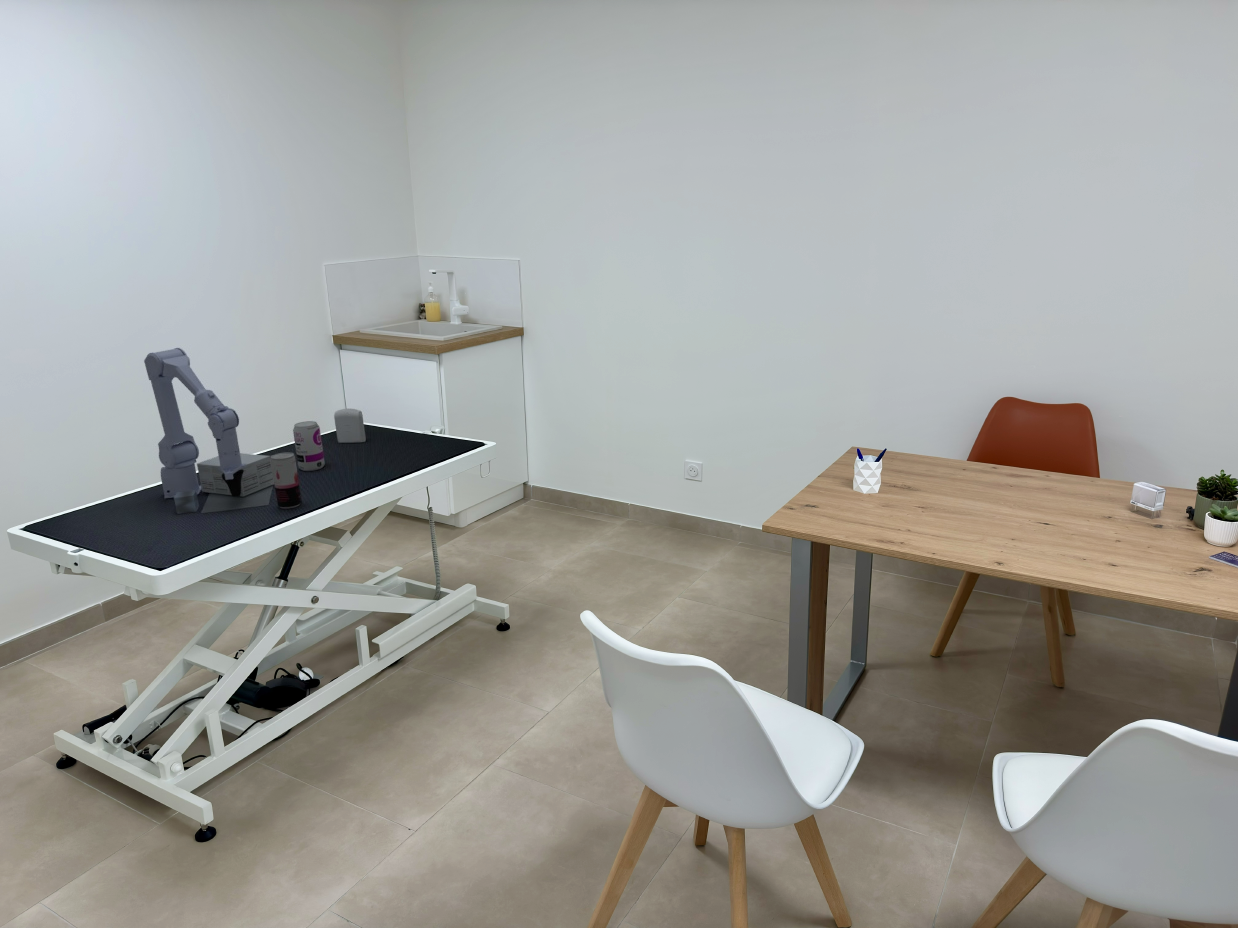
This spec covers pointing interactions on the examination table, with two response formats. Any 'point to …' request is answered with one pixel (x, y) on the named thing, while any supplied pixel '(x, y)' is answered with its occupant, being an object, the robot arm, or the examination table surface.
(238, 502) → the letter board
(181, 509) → the slate cube
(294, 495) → the beverage can
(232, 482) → the robot arm
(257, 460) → the supplement box
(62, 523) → the examination table surface
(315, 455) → the supplement can
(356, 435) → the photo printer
